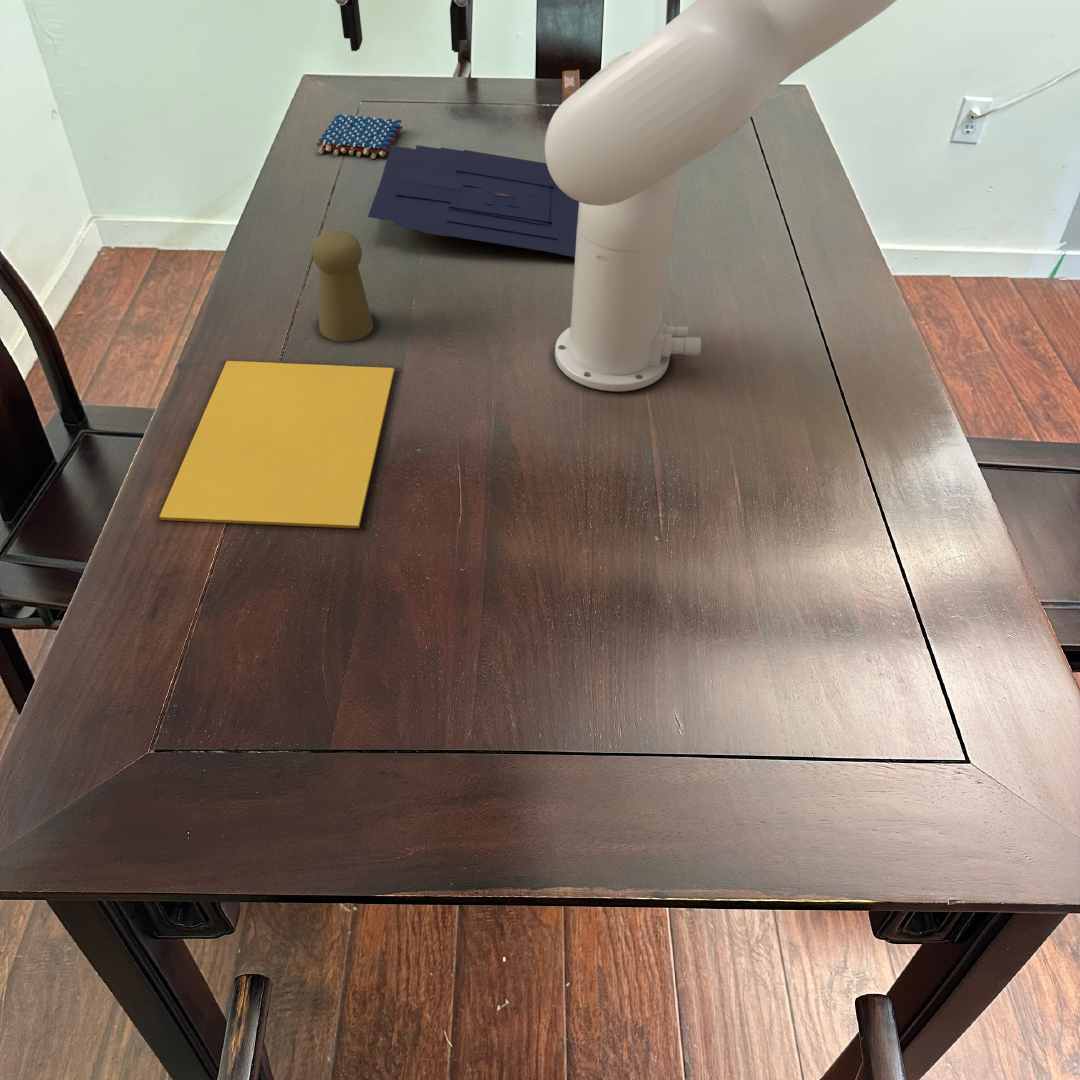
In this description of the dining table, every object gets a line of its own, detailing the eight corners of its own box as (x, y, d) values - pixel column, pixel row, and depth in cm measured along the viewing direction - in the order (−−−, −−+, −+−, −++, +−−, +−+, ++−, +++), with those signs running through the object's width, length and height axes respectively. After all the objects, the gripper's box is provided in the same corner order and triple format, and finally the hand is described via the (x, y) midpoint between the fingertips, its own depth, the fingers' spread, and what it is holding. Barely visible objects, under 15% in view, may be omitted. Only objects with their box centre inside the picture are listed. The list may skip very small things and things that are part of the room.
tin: (581, 159, 141) (584, 100, 135) (559, 158, 141) (562, 100, 135) (579, 117, 152) (582, 61, 146) (559, 116, 152) (562, 60, 146)
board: (394, 370, 104) (394, 367, 104) (359, 528, 87) (358, 525, 87) (227, 363, 104) (226, 360, 104) (159, 520, 87) (158, 517, 87)
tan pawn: (363, 345, 107) (352, 255, 99) (311, 337, 108) (296, 247, 100) (380, 315, 111) (371, 227, 103) (330, 308, 112) (317, 219, 104)
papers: (392, 158, 136) (393, 133, 134) (600, 192, 139) (605, 168, 136) (364, 244, 120) (365, 217, 117) (602, 281, 122) (608, 256, 120)
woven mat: (335, 124, 147) (334, 111, 145) (404, 131, 146) (403, 117, 145) (315, 154, 140) (313, 140, 138) (386, 161, 139) (385, 147, 137)
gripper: (278, -163, 78) (311, 60, 91) (490, -160, 79) (495, 62, 91) (294, -180, 84) (323, 32, 96) (493, -177, 84) (497, 34, 96)
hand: (406, 46), depth 93 cm, fingers open, 9 cm apart
